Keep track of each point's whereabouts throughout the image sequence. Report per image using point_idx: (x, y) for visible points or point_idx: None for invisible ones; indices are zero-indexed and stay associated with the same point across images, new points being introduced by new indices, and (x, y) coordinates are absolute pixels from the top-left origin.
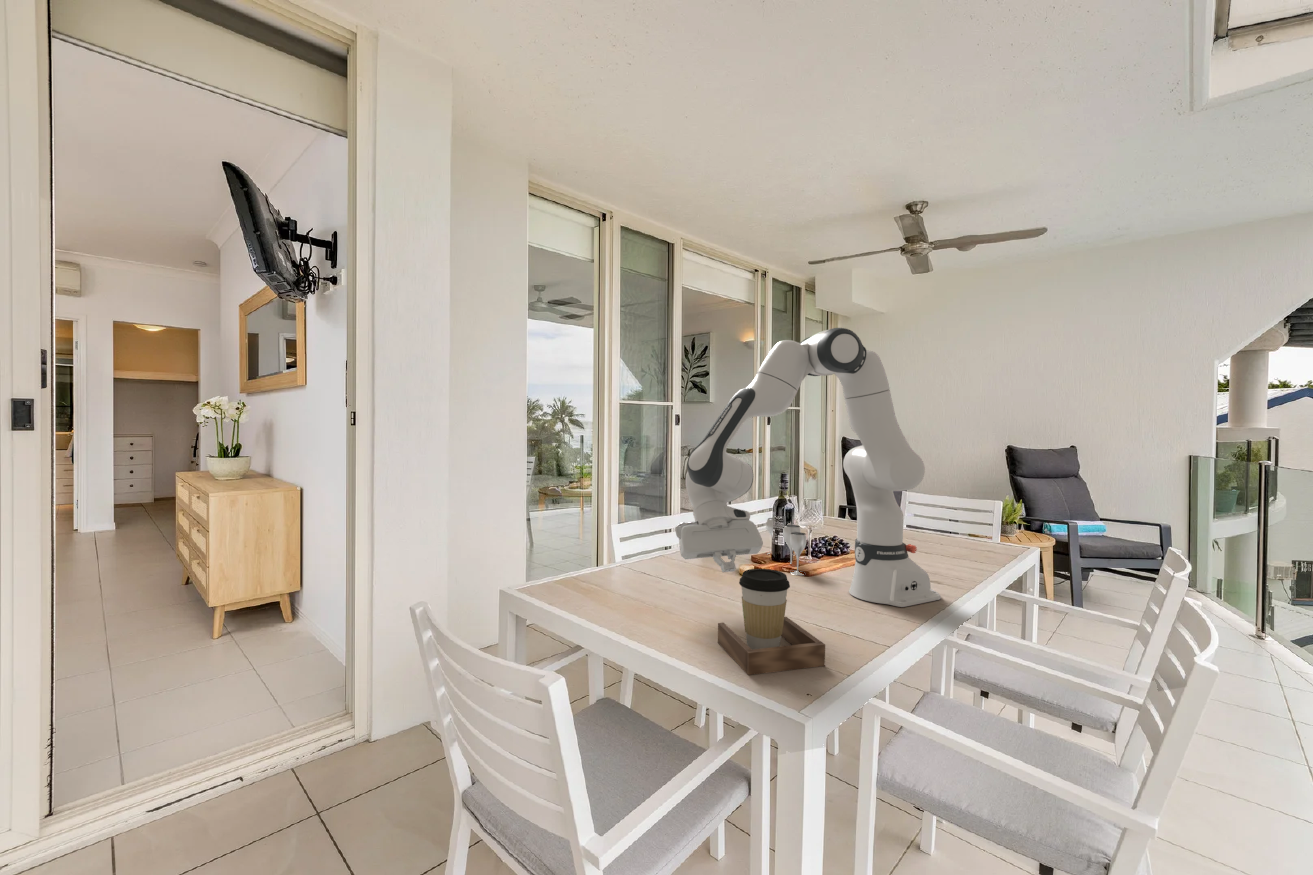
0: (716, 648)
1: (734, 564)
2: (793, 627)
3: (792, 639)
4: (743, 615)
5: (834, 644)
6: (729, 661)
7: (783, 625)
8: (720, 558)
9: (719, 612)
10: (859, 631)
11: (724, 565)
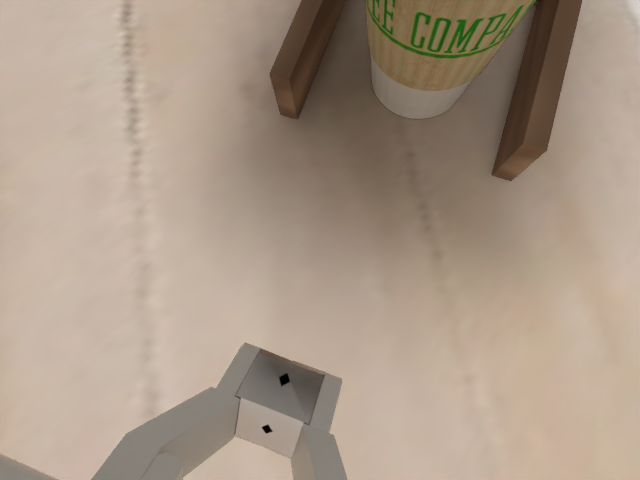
0: None
1: (236, 362)
2: (320, 10)
3: (320, 47)
4: (513, 29)
5: (220, 12)
6: None
7: (298, 80)
8: (330, 476)
9: None
10: (83, 33)
11: (328, 396)
